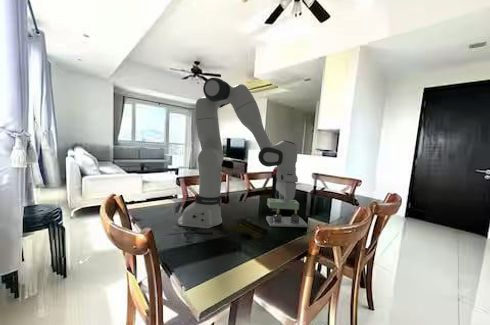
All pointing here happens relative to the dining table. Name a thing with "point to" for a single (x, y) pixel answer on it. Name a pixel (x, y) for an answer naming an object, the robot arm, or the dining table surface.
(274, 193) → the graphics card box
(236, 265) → the dining table surface
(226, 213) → the dining table surface
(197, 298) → the dining table surface
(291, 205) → the board
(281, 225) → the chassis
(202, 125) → the robot arm
